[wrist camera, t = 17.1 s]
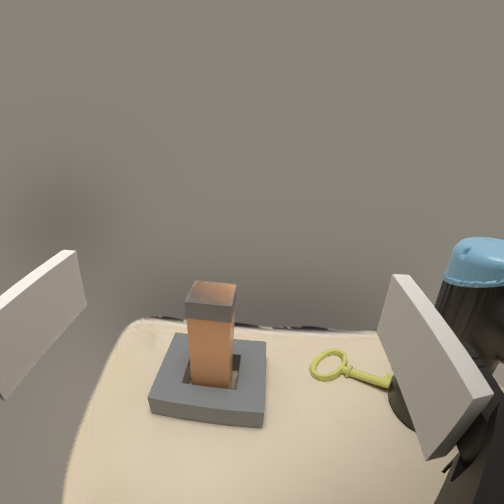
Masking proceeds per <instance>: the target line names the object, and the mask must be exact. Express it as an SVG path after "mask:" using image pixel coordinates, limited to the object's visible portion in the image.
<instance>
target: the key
mask: <svg viewBox="0 0 504 504" xmlns="http://www.w3.org/2000/svg"><path fill="white" fill-rule="evenodd" d="M330 355H337V356H339V357H340V358H341V359H342V364H341V365H340V366H339V367H338V368H337V369H336V370H335V371H333V372H331V373H329V374H321V373H318V372H317V371H316V368H317V365H318V364H319V362H320V361H321V360H322V359H324V358H325V357H327V356H330ZM346 365H347V355H346V353H345V352H343V351H342V350H339V349H330V350H327V351H324V352H322V353H321V354H319V355H318V356H317V357H316V358H315V359H314V360H313V361H312V363H311V365H310V374H311V375H312V376H313V377H314V378H315V379H317V380H319V381H331V380H334V379H336V378H337V377H339V376H340V375H341V374H344V375H345V377H346V378H348V377H349V376H350V377H353V378H356V379H359V380H362V381H365V382H368V383H371V384H374V385H378V386H381V387H384V388H387V389H388V388H389V385H390V383H391V379H392V377H393V375H391V376H390V375H389V374H388V373H386V374H385V376H384V378H380V377H377V376H374V375H371V374H368V373H365V372H362V371H358V370H355V369H353V366H352V365H350V366H349V367H346Z"/></svg>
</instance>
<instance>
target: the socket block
mask: <svg viewBox="0 0 504 504" xmlns="http://www.w3.org/2000/svg"><path fill="white" fill-rule="evenodd" d="M265 367H266V342H262V341H249V340H238V339H233V367H232V370H238V371H239V375H238V382H237V390H234V389H224V388H215V387H207V386H199V385H192V384H188V383H189V379H190V376H191V368H190V356H189V343H188V334H183V333H175V335H174V337H173V340H172V342H171V344H170V346H169V349H168V351H167V353H166V356H165V358H164V360H163V362H162V365H161V367H160V369H159V372H158V374H157V376H156V379H155V381H154V383H153V386H152V388H151V390H150V393H149V395H148V401H149V405H150V409H151V412H152V413H154V414H159V415H164V416H169V417H174V418H180V419H186V420H192V421H199V422H206V423H214V424H222V425H232V426H242V427H255V428H262V422H263V416H264V398H265Z"/></svg>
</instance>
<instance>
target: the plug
mask: <svg viewBox="0 0 504 504" xmlns="http://www.w3.org/2000/svg"><path fill="white" fill-rule="evenodd" d="M236 288H237V285H236V284H228V283H217V282H205V281H195V282H194V284H193V286H192V288H191V290H190V292H189V294H188V296H187V298H186V300H185V314H186V318H187V328H188V343H189V356H190V368H191V380H192V385H199V386H207V387H215V388H224V389H230V386H231V380H232V367H233V339H234V312H235V302H236Z"/></svg>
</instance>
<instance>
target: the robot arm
mask: <svg viewBox="0 0 504 504" xmlns="http://www.w3.org/2000/svg"><path fill="white" fill-rule="evenodd" d="M86 306H87V303H86V299H85V295H84V290H83V285H82V280H81V276H80V270H79V265H78V259H77V253H76V251H71V250H63V251H61V252H59V253H58V254H57V255H55V256H54V257H52V258H51V259H49V260H48V261H46V262H45V263H44V264H42V265H41V266H40V267H38V268H37V269H35V270H34V271H32V272H31V273H30V274H28V275H27V276H26V277H24V278H23V279H22V280H20V281H19V282H18V283H16V284H15V285H14V286H13V287H11V288H10V289H9V290H7V291H6V292H5V293H4V294H2V295H1V296H0V398H1V399H2V400H4V401H7V399H8V398H9V396H10V395H11V394H12V393H13V391H14V390H15V389H16V388H17V386H18V385H19V384H20V382H21V381H22V380H23V379H24V377H25V376H26V375H27V374H28V372H29V371H30V370H31V369H32V367H33V366H34V365H35V364H36V363H37V361H38V360H39V359H40V358H41V357H42V355H43V354H44V353H45V352H46V351H47V350H48V348H49V347H50V346H51V345H52V344H53V343H54V341H55V340H56V339H57V338H58V337H59V336H60V335H61V334H62V332H63V331H64V330H65V329H66V328H67V327H68V326H69V325H70V323H71V322H72V321H73V320H74V319H75V318H76V317H77V316H78V315H79V313H80V312H81V311H82V310H83V309H84V308H85V307H86ZM376 332H377V334H378V336H379V339H380V341H381V343H382V346H383V348H384V350H385V353H386V355H387V358H388V360H389V362H390V365H391V367H392V370H393V372H394V375H393V378H392V380H391V383H390V385H389V391H388V394H389V400H390V404H391V406H392V408H393V410H394V412H395V413H396V415H397V416H398V417H399V418H400V419H401V420H402V421H403V422H404V423H405V424H406V425H407V426H408V427H410V428H411V429H413V430H415V431H416V433H417V436H418V439H419V442H420V445H421V448H422V451H423V454H424V458H425V461H428V460H432V459H436V458H440V457H444V456H446V455H447V454H448V453H449V452H450V451H451V450H452V449H453V447H454V446H455V445H457V448H458V450H459V453H458V454H457V455H456V456H455V457H454V458H453V459H452V461H451V462H450V463H449V464H448V465H447V466H446V467H445V468H444V469H443V471H442V472H443V473H445V472H446V471H447V470H448V469H449V468H450V467H451V468H450V470H449V473H448V475H447V477H446V480H445V482H444V484H443V486H442V488H441V491H440V493H439V495H438V497H437V499H436V501H435V503H434V504H504V393H503V392H502V390H501V388H500V387H499V385H498V384H497V382H496V381H495V379H494V378H493V376H492V374H493V372H494V370H495V369H496V367H497V365H498V364H499V363H502V364H504V240H500V239H493V238H487V237H471V238H466V239H464V240H461V241H460V242H458V244H456V246H455V247H454V249H453V251H452V254H451V257H450V260H449V263H448V266H447V269H446V270H445V272H444V274H443V282H442V285H441V289H440V292H439V295H438V298H437V301H436V304H435V307H434V306H433V305H432V303H431V302H430V301H429V299H428V298H427V297H426V296H425V294H424V293H423V292H422V291H421V289H420V288H419V287H418V286H417V284H416V283H415V282H414V281H413V279H412V278H411V277H410V276H409V275H399V274H393V275H392V278H391V282H390V286H389V290H388V294H387V297H386V301H385V304H384V308H383V311H382V315H381V318H380V321H379V325H378V328H377V331H376Z"/></svg>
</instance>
